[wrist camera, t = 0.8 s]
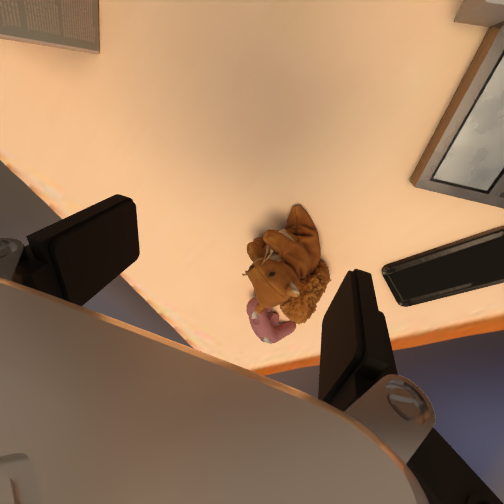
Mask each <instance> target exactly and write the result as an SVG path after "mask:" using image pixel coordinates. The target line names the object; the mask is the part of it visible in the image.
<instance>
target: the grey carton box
mask: <svg viewBox="0 0 504 504" xmlns="http://www.w3.org/2000/svg"><path fill="white" fill-rule="evenodd" d="M0 38H1V39H7V40H13V41H19V42H26V43H32V44H38V45H44V46H50V47H56V48H62V49H68V50H74V51H81V52H88V53H94V54H99V13H98V0H0Z"/></svg>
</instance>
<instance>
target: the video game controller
mask: <svg viewBox="0 0 504 504" xmlns="http://www.w3.org/2000/svg"><path fill="white" fill-rule="evenodd" d="M257 303H258V300H257V299H256V298H252V299H251V300H250V301H249V302H248V304H247V314H248V315H249V320H250V324H251V326H252V329H253V331H254V332H255V334H256V335H257V336H258V337H259V338H260V339H261V340H262V341H263V342H266V343H270V344H271V343H276V342H277V341H279V340H281V339H282V338H284V337H285V336H287V335H289V334H291V333H292V332H293V331H294V330H295V328H296V324H295V323H294V322H287V323H283V324H281V325H279V326H277V323H278V321H279V316H278V314H276V313H273V312H270V311H271V310H272V308H273V307H272V308H266V309H265V311H264V312H263V313H262V314H258V313H256V312H255V306H256V304H257ZM269 312H270V313H269ZM266 313H269V314H268V315H266Z"/></svg>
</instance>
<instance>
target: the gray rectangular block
mask: <svg viewBox="0 0 504 504" xmlns="http://www.w3.org/2000/svg"><path fill="white" fill-rule="evenodd" d="M503 21H504V0H464V1H463V3H462V5H461V7H460V9H459V12H458V14H457V16H456V18H455V20H454V22H459V23H466V24H473V25H479V26H486V27H491V26H494V25H496V24H498V23H501V22H503Z"/></svg>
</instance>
